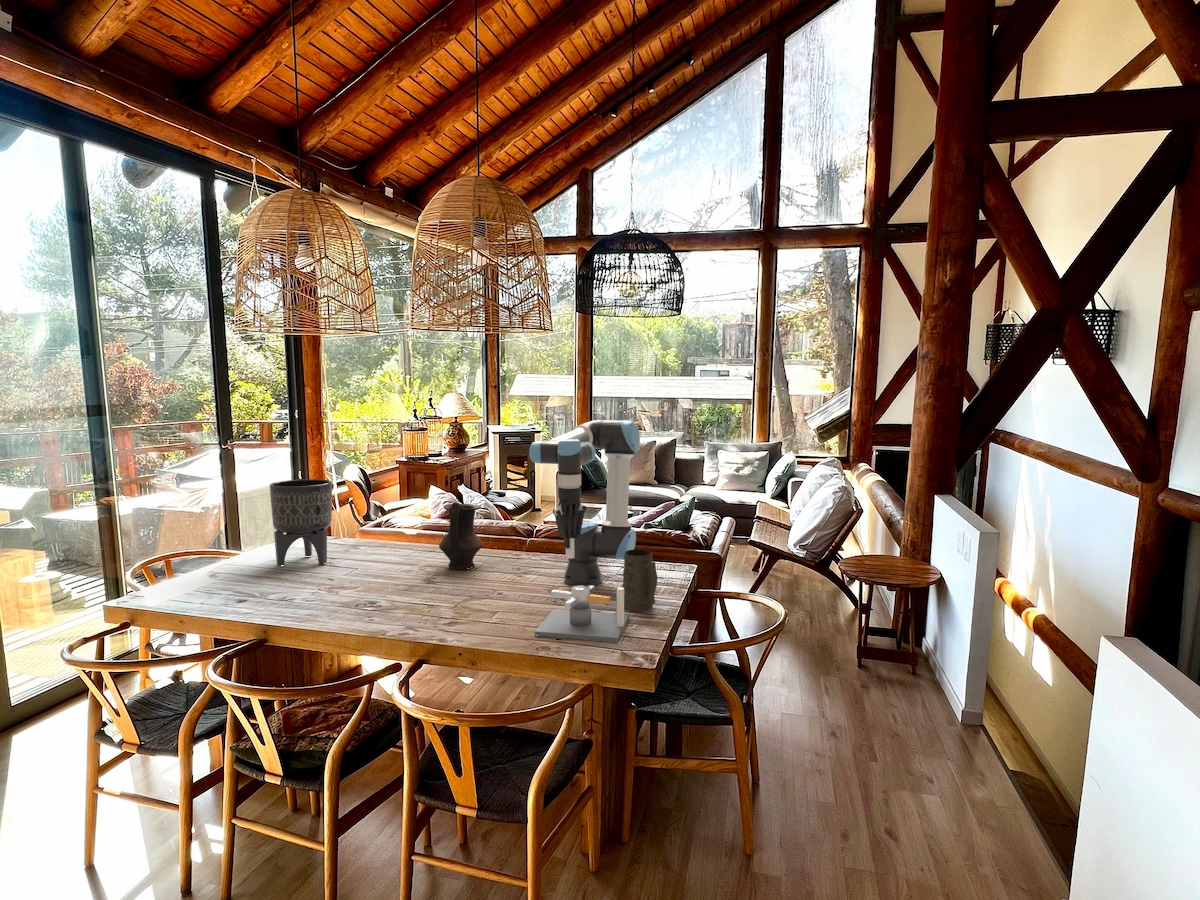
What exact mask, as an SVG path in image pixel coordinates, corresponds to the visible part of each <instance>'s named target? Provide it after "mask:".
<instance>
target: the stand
mask: <svg viewBox="0 0 1200 900" xmlns="http://www.w3.org/2000/svg"><path fill="white" fill-rule="evenodd" d="M615 593H616V594H615V595H616V596H615V597H616V599H615V613H614V612H599V611H592V606H591V605H590V607H589V608H587V609H574V608H571V609H559V608H554V609H552V611H551V612H550V613H549V614H548V615H547V616H546V618H545V619H544V620H543V621H542V622H541V624H540V625H539V626H538V627H537V628H536V629H535V631H534V636H535V637H540V636H548V637H547V638H553V637H559V638H558V639H566V638H570V639H569V640H579V639H582V641H591V640H592V641H594V642H606V643H618V642H619V639H620V638H621V636H622V634H623V632H624V630H625V628H626V626H627V623H628V622H629V619H630V615H629V613H628V614H627V613H625V608H624V588H623V586H622V587H621V586H618V587H617V589H616V592H615ZM536 635H538V636H536ZM560 637H561V638H560Z"/></svg>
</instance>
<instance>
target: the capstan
mask: <svg viewBox="0 0 1200 900" xmlns="http://www.w3.org/2000/svg"><path fill="white" fill-rule="evenodd" d="M595 590H596V585H593V586H591V585H590V586H583V585H579V586H571V589H570V591H569V590H568V591H566V590H559V589H553V590H551V593H550V597H553V598H559V599H566V601H565V602H564V608H565V609H566V610H570V609H571V608H574V609H587V608H589V607H590V606H591V602H592V603H599V604H606V605H608V604H610V603H611V599H612V598H611V596H608V595H600V594H593V593H594V592H596V591H595ZM567 599H568V600H567Z"/></svg>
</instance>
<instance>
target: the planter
mask: <svg viewBox="0 0 1200 900" xmlns="http://www.w3.org/2000/svg"><path fill="white" fill-rule="evenodd" d="M269 494H270V495H269V496H270V506H271V517H272V519H271V520H272V526H273V529H274V530H275V531H273V535H274V547H275V559H276V566H277V565H278V566H281V565H284V566H285V560H286V556H287V553H288V551H289V548H290V547H291V545H292V544H293V543H294V542H296V541H297V540H299V539H302V542H303V545H304V557H305V556H311V555H312V556H313V547H314V550H315V552H316V555H317V561H318V565H319V564H324V563H326V562H327V563H328V557H327V556H328V555H327V553H328V549H327V548H328V529H327V528H329V527H330V526H331V524H332V519H333V518H332V516H333V513H332V512H333V510H332V509H333V481H331V480H329V479H321V478H320V479H319V478H307V479H306V478H304V479H291V480H290V479H289V480H281V481H274V482H271V483H270V484H269ZM284 533H285V534H284ZM278 566H277V567H278Z"/></svg>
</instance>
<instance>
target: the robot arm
mask: <svg viewBox="0 0 1200 900" xmlns="http://www.w3.org/2000/svg"><path fill="white" fill-rule="evenodd" d="M640 445H641V438H640V430H639V427H638V425H637V424H636V422H634V421H633V420H625V419H621V420H620V419H619V420H618V419H611V420H610V419H596V420H590V421H588V422H583V423H581V424H579V425H576V426H574V427H573V428H572V429H571V431H569V432H565V433H563V434H561V435H559V436H556V437H554V438H552V439H550V440H546V441H540V440H539V441H534V442H532V443H531V445H530V446H529V450H528V452H529V458H530V459H529V460H531V462H532V463H535V464H541V465H542V464H546V465H547V464H549V465H555V464H556V465H557V484H558V486H559V487H558V488H557V498H558V499H559V502H558V506H557V508H556V509H552V513H553V515H554V518H555V522H556V523H555V524H556V527H557V533H558V536H559V537H560V538H563V540H564V541H563V542H564V543H563V544H564V549H565V558H567V560H568V564H567V566H566V570H565V573H564V575H563V582H564V584H566V585H568V584H569V586H572V585H573V586H579V585H583V586H590V585H591V586H597V585H599V584H602V582H603V576H602V571H601V569H600V565H599V563H598V558H600V559H601V558H602V559H610V560H611V559H612V560H616V561H617V560H624V555H625V552H626V551H628V550H633V549H635V547H636V544H637V543H636V541H637V533H636V531H635V530H633V529H632V524H631V523H630V522H629V517H628V515H629V495H630V494H629V493H630V469H631V460H632V458H633V457H634V456H635V452H637V451H639V450H640V449H639V448H640ZM596 450H604V455H605V457H606V458H607V483H606V505H605V507H606V508H605V519H604V521H603V522H602V523H601V527H599V525H598V523H597V522H584V517H585V513H586V510H587V506H586V505H583V504H582V503H581V498H582V466H586V465H588V464H590V463H591V462H593V461H594V460H595V457H596V455H597V454H596V453H597V452H596ZM573 586H572V587H573Z"/></svg>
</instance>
